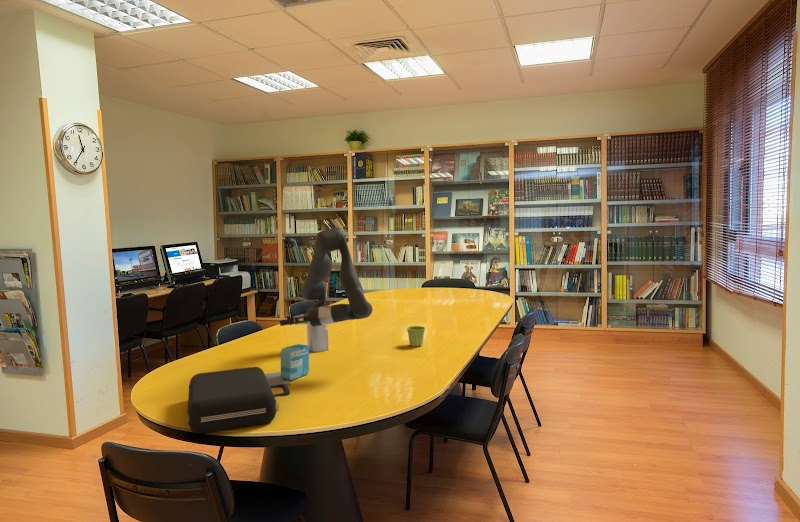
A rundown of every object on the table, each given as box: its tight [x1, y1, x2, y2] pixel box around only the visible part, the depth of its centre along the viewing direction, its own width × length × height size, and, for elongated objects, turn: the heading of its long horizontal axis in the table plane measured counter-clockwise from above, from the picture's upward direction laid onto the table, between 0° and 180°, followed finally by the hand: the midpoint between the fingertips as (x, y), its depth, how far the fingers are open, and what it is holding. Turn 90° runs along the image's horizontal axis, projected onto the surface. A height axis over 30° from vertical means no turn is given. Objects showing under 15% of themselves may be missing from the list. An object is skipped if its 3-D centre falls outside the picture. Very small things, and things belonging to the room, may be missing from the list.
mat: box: [264, 371, 291, 386], centre depth 205 cm, size 14×18×1 cm
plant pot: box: [406, 325, 426, 347], centre depth 256 cm, size 9×9×9 cm
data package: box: [280, 343, 310, 381], centre depth 209 cm, size 12×4×12 cm, turn 152°
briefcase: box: [187, 366, 291, 434], centre depth 174 cm, size 36×32×10 cm
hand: (283, 322), depth 214 cm, fingers open, 8 cm apart
